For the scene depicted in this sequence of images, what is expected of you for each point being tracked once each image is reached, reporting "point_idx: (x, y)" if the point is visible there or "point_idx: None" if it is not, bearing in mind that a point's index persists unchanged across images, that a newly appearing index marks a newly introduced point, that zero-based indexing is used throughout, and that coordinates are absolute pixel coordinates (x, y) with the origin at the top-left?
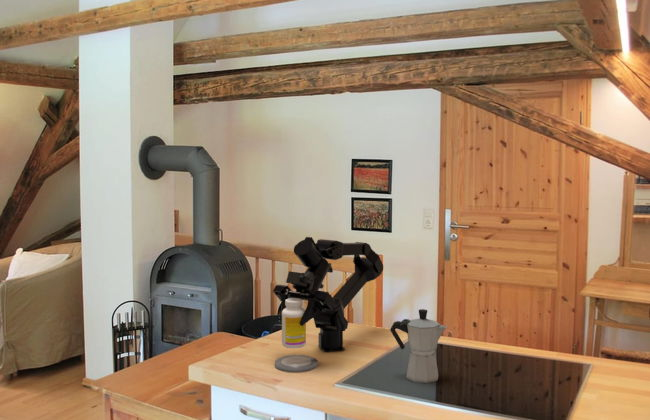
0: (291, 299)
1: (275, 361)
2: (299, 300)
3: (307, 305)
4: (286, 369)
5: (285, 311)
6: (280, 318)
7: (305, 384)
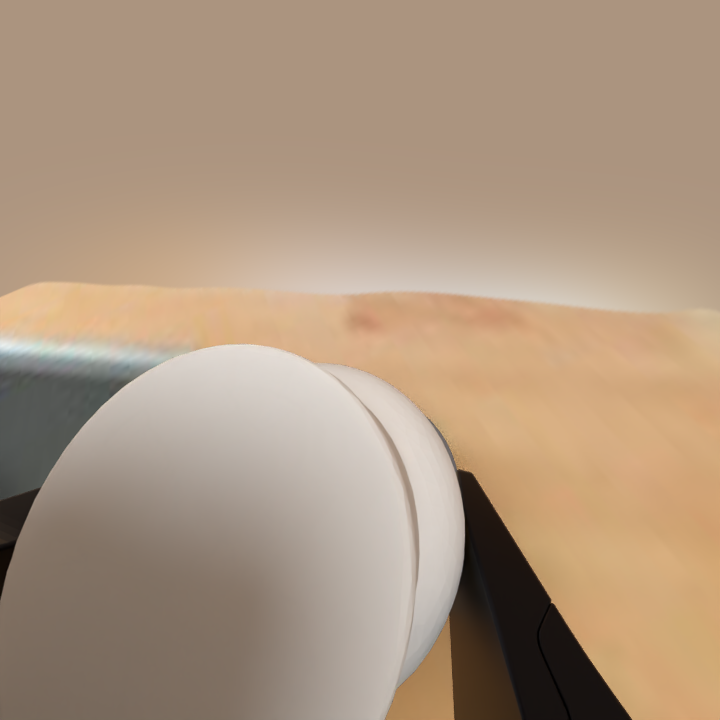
0: (261, 589)
1: (445, 447)
2: (54, 565)
3: (14, 541)
4: None
5: (358, 380)
6: (468, 476)
7: (272, 328)
